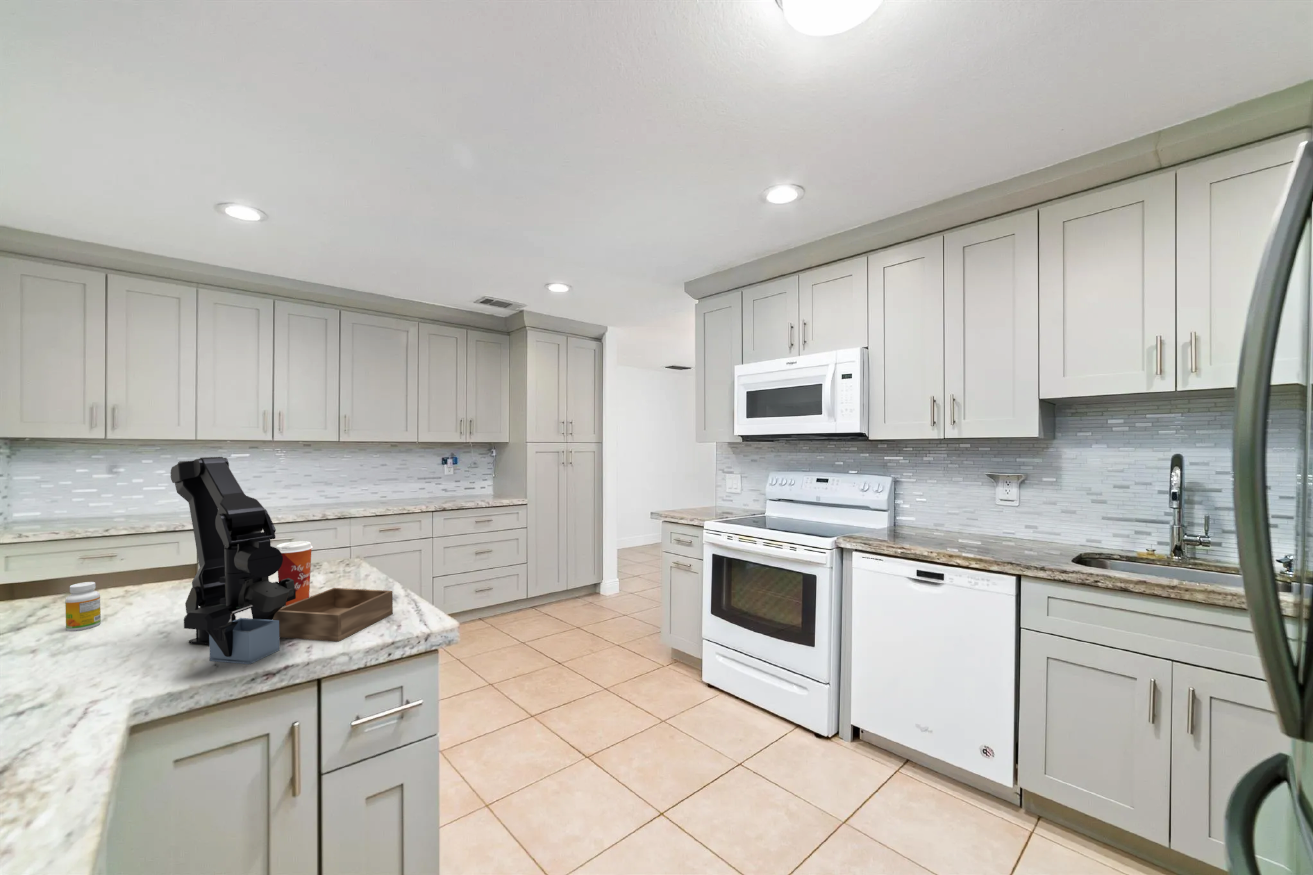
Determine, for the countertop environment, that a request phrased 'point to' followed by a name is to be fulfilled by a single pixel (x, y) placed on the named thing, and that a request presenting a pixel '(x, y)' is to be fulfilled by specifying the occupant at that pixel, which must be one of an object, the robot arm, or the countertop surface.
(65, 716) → the countertop surface
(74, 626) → the supplement bottle
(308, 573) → the coffee cup
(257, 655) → the small crate
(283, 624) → the big crate
